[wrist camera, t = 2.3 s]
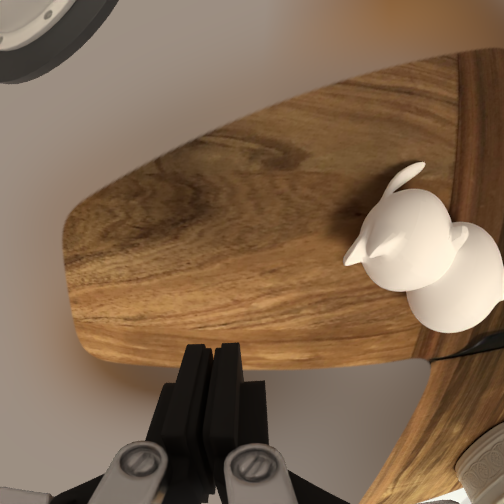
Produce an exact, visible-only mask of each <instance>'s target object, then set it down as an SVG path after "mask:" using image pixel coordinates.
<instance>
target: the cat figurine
mask: <svg viewBox="0 0 504 504" xmlns="http://www.w3.org/2000/svg"><path fill="white" fill-rule="evenodd" d="M424 167H425V163H424V162H418V163H415V164H412V165H410V166H407V167H406V168H404V169H403V170H401V171H400V172H398V173H397V174H396V175H395V177H394V178H393V179H392V180H391V181H390V183H389V184H388V186H387V188H386V190H385V192H384V194H383V196H382V198H381V200H380V201H379V203H378V204H377V205H375V206H374V207H373V209H372V210H371V211H370V212H369V214H368V215H367V217H366V218H365V220H364V222H363V224H362V227H361V230H360V235H359V236H358V238H357V239H356V240H355V242H354V243H353V244H352V246H351V247H350V248H349V250H348V251H347V253H346V254H345V256H344V257H343V263H344V265H345V266H349V265H352V264H355V263H359V262H362V265H363V267H364V269H365V271H366V272H367V274H368V275H369V277H370V278H371V279H372V280H373V281H374V282H375V283H376V284H377V285H379V286H380V287H382V288H384V289H387V290H390V291H398V292H402V291H406V294H407V299H408V303H409V306H410V308H411V310H412V312H413V314H414V315H415V317H416V318H417V319H418V320H419V321H420V322H421V323H422V324H423V325H425V326H426V327H428V328H430V329H432V330H435V331H438V332H443V333H455V332H460V331H464V330H467V329H469V328H471V327H473V326H475V325H477V324H478V323H480V322H481V321H482V320H483V319H485V318H486V317H487V316H488V314H489V313H490V312H491V311H492V309H493V308H494V306H495V305H496V304H497V303H498V302H499V301H502V300H504V267H503V263H502V258H501V255H500V252H499V249H498V247H497V245H496V243H495V242H494V240H493V239H492V237H491V236H490V235H489V234H488V233H487V232H486V231H485V230H484V229H482V228H481V227H479V226H477V225H475V224H472V223H468V222H454V223H452V221H451V218H450V216H449V213H448V211H447V209H446V208H445V206H444V205H443V203H442V202H441V200H440V199H439V198H438V197H437V196H436V195H434V194H432V193H431V192H429V191H426V190H422V189H406V190H402V191H399V192H396V193H393V192H394V191H395V190H396V189H398V188H399V187H400V186H402V185H403V184H405V183H406V182H407V181H409V180H410V179H411V178H413V177H414V176H416V175H417V174H418V173H419V172H421V171H422V169H423V168H424Z"/></svg>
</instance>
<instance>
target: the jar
mask: <svg viewBox="0 0 504 504" xmlns="http://www.w3.org/2000/svg"><path fill="white" fill-rule="evenodd" d="M455 471H456V476H457V478H458V480H459V482H461V483H462V485H463V487H464V489H465V491H466V493H467V495H468V497H469V499H470V501H471V503H472V504H504V422H503V423H501V424H499V425H497V426H496V427H494V428H493V429H491V430H490V431H488V432H487V433H485V434H484V435H483V436H482V437H480V438H479V439H478V440H477V441H476V442H475V443H473V444H472V445H471V446H470V447H469V448H468V449H467V450H466V451H465V453H464V454H463V455H462V456H461V457H460V459H459V460H458V462H457V464H456V466H455Z"/></svg>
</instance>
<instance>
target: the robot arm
mask: <svg viewBox="0 0 504 504" xmlns="http://www.w3.org/2000/svg"><path fill="white" fill-rule="evenodd" d="M75 1H76V0H0V51H11V50H16V49H19V48H21V47H24V46H26V45H28V44H30V43H31V42H33V41H35V40H36V39H38V38H39V37H41V36H42V35H43V34H44V33H46V32H47V31H48V30H50V29H51V28H52V27H53V26H54V25H55V24H56V23H57V22H58V21H59V20H60V19H61V18H62V17H63V16H64V15H65V13H66V12H67V11H68V10H69V9H70V8H71V6H72V5H73V4H74V2H75ZM266 406H267V405H266V390H265V381H251V382H244V378H243V370H242V361H241V352H240V344H239V343H222V346H221V348H216V349H215V355H214V360H213V354H212V349H211V348H206V346H205V344H188V345H187V347H186V350H185V353H184V356H183V360H182V363H181V366H180V370H179V373H178V376H177V380H176V383H165V384H164V386H163V388H162V391H161V394H160V397H159V400H158V403H157V406H156V409H155V412H154V415H153V418H152V421H151V424H150V427H149V430H148V433H147V437H146V440H145V441H136V442H132V443H130V444H127V445H126V446H124V447H123V448H121V449H120V450H119V451H118V453H117V454H116V456H115V457H114V459H113V461H112V462H111V464H110V466H109V468H108V469H107V471H106V473H105V474H103V475H101V476H98V477H96V478H94V479H92V480H90V481H88V482H85V483H83V484H81V485H79V486H77V487H74V488H72V489H70V490H67V491H65V492H63V493H61V494H59V495H57V496H55V497H53V496H52V495H51V494H48V493H40V492H33V491H26V490H19V489H13V488H8V487H0V504H201V503H208V497H209V494H215V488H216V487H217V490H218V493H219V496H220V499H221V502H222V504H350V503H348V502H346V501H344V500H342V499H340V498H338V497H336V496H334V495H332V494H330V493H328V492H326V491H324V490H323V489H321V488H319V487H317V486H315V485H313V484H312V483H310V482H308V481H306V480H305V479H303V478H301V477H299V476H298V475H296V474H294V473H292V472H291V471H289V470H287V467H286V464H285V461H284V458H283V456H282V455H281V453H280V452H279V451H278V450H276V449H275V448H274V447H271V446H269V439H268V421H267V407H266ZM418 504H459V503H458V502H455V501H453V500H439V501H433V502H426V503H418Z"/></svg>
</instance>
